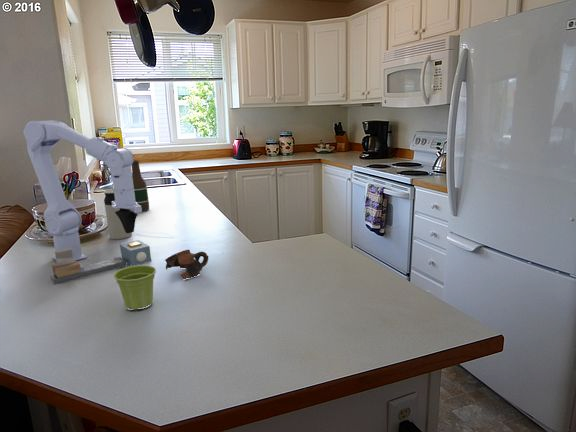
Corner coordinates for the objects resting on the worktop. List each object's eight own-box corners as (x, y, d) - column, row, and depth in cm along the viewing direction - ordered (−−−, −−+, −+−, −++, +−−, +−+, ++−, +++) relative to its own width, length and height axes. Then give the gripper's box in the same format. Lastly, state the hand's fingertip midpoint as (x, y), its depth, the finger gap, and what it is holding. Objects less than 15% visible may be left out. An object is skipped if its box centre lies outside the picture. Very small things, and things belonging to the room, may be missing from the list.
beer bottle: (131, 209, 205) (125, 160, 199) (148, 207, 208) (142, 159, 202) (133, 213, 198) (126, 162, 192) (150, 210, 201) (144, 160, 195)
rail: (50, 279, 121) (49, 274, 120) (121, 261, 133) (120, 256, 133) (54, 284, 117) (53, 279, 116) (126, 265, 129) (126, 260, 129)
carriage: (52, 272, 121) (48, 250, 119) (75, 266, 125) (71, 245, 123) (58, 277, 117) (53, 255, 115) (81, 271, 120) (77, 250, 119)
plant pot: (145, 294, 108) (141, 262, 106) (167, 303, 102) (163, 270, 100) (111, 308, 101) (105, 274, 99) (132, 319, 95) (127, 283, 93)
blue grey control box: (122, 259, 135) (119, 244, 134) (140, 254, 139) (138, 240, 138) (132, 266, 128) (130, 250, 127) (151, 261, 132) (149, 246, 131)
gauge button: (129, 254, 133) (127, 243, 132) (138, 252, 135) (137, 241, 134) (132, 256, 131) (131, 245, 130) (142, 254, 133) (140, 243, 132)
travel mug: (117, 241, 155) (110, 192, 151) (105, 237, 160) (98, 191, 155) (136, 235, 161) (130, 189, 157) (124, 232, 166) (118, 187, 161)
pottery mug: (173, 286, 114) (161, 258, 114) (174, 288, 122) (163, 262, 123) (214, 267, 117) (202, 241, 118) (212, 271, 126) (201, 246, 127)
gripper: (99, 189, 129) (106, 231, 133) (123, 193, 120) (129, 239, 123) (121, 185, 134) (127, 226, 138) (145, 189, 125) (151, 233, 128)
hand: (129, 232), depth 131 cm, fingers closed
